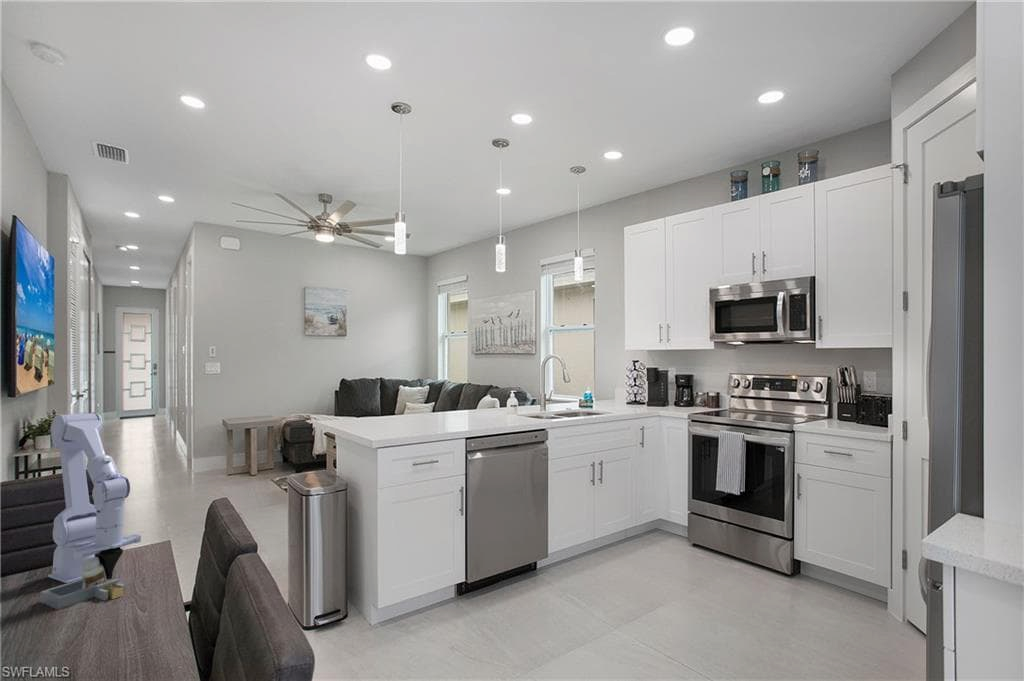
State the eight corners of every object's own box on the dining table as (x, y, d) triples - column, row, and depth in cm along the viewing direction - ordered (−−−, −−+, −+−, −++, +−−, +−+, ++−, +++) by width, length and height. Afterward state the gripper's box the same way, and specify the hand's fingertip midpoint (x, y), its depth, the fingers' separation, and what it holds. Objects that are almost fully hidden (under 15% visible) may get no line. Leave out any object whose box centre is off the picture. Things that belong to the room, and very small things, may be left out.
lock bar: (98, 594, 127) (99, 587, 127) (109, 590, 129) (109, 583, 129) (112, 599, 124) (112, 591, 124) (123, 595, 126) (123, 588, 126)
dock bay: (39, 602, 122) (40, 590, 122) (97, 583, 133) (98, 572, 133) (67, 613, 117) (68, 601, 117) (125, 593, 128) (125, 581, 128)
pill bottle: (88, 596, 126) (81, 569, 125) (84, 589, 129) (76, 562, 127) (110, 586, 130) (103, 559, 128) (105, 579, 132) (98, 553, 131)
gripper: (85, 535, 124) (82, 592, 123) (148, 519, 137) (146, 571, 136) (69, 531, 126) (66, 587, 126) (132, 516, 140) (130, 566, 139)
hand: (107, 578), depth 131 cm, fingers closed, pressing on pill bottle
